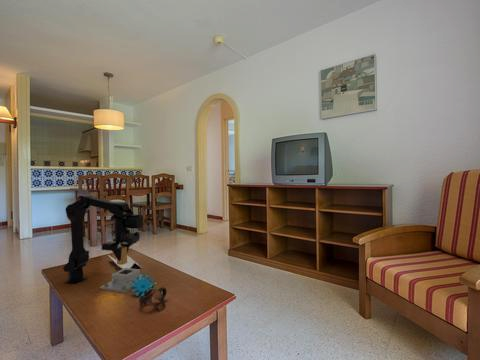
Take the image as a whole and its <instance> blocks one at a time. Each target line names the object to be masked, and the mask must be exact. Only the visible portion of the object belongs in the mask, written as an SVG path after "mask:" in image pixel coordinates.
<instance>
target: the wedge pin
mask: <svg viewBox="0 0 480 360" xmlns="http://www.w3.org/2000/svg"><path fill="white" fill-rule="evenodd" d="M121 247H123V246H121ZM127 256H128V253H127V247H123V248H122V249H121V259H120V261H118V260H117V264H118V265H123V264H125V263H127ZM117 264H116V265H117ZM118 265H117V266H118Z"/></svg>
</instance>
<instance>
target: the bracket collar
mask: <svg viewBox="0 0 480 360" xmlns="http://www.w3.org/2000/svg"><path fill="white" fill-rule="evenodd" d="M144 275H145V276H144V277H143V279H145V278H146V277H147V275H148V274H144ZM137 276H140V277H139V280H141V278H142V273H140V269H137V268H132V267H131V268H124V269H122V268H121V269H120V270H118V271H115V272H114V273H112V274H111V281H109V282H107V283H105V284H103V285H101V286H100V287H99V289H100V290H104V291H108V292H109V291H110V292H115V293H116V292H117V293H122V294H123V293H124V294H125V293H127V292H128V291H130V290H132V289H133V288H131V285H132V284H133V285H134V286H136V284H135V283H133V282H132V281H133V280H134V279H135V280H136V282H138V280H137V279H136V277H137Z"/></svg>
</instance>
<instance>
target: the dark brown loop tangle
mask: <svg viewBox="0 0 480 360" xmlns="http://www.w3.org/2000/svg"><path fill="white" fill-rule="evenodd" d="M167 293H168V291H167V288H166V287H165V286H161V287H159V288H158V289H157V290H156V288H155V287H154V288H153V289H151V290H150V289H148V291H145V292H144V297H143V296H141V295H140V297H139V298H138V302H139V304H138V305H139V307H143V308H145V305H147V304H148V303H149V304H152V303H153V298H154V300H158V301H159V302H160V303H159V304H158V306H157V309H158V312H161V311H162V310H163V309H164V308H165V307H166V302H165V298H166V297H167Z"/></svg>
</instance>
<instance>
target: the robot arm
mask: <svg viewBox="0 0 480 360" xmlns="http://www.w3.org/2000/svg"><path fill="white" fill-rule="evenodd" d="M90 206H92V207H95V208H99V209H103V210H106V211H108V212H109V213H111V214H112V216H111V217H110V220H114V230H112V233H113V234H114V238H112V241H107V242H105V243H104V242H103V243H102V245H101V250H102V251H110V252H111V251H112V253H113V255H114V256H115V258H116V259H117V260H118V261H120V259H121V249H122V248H123V247H127V254H128V253H129V249H130V248H131V246H132V245H134V244H137V243H138V242H139V241H140V238H141V237H140V236H141V235H140V232H138V231H136V232H131V230H130V229H142V227H143V225H144V220H143V217H142V216H141V214H140V213H137V214H135V213H134V212H133V210H132V209H131V208H130V206H129V203H128V202H126V201H123V202H122V201H110V200H107V199H102V198H98V197H94V196H91V195H90V196H89V195H88V196H84V197H81V199H78V200H77V201H75V202H73V203H71V204H68V205H67V206H66V207H65V213H66V217H67V219H68V221H70V231H71V234H70V235H71V251H70V252H69V255H68V261H67V263H66V264H65V265H64V266H63V271H64V273H65V272H67V280H65V281H64V283H69V284H74V285H75V284H77V283H79V282H81V281H84V280H86V277H85V276H84V267H86V266H87V263H88V262H89V259H90V251H89V250H86V248H85V247H84V245H85V244H84V242H85V241H84V225H83V223H84V222H83V220H84V218H85V216H86V213H87V212H86V211H87V209H89V208H90ZM121 246H123V247H121Z"/></svg>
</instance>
